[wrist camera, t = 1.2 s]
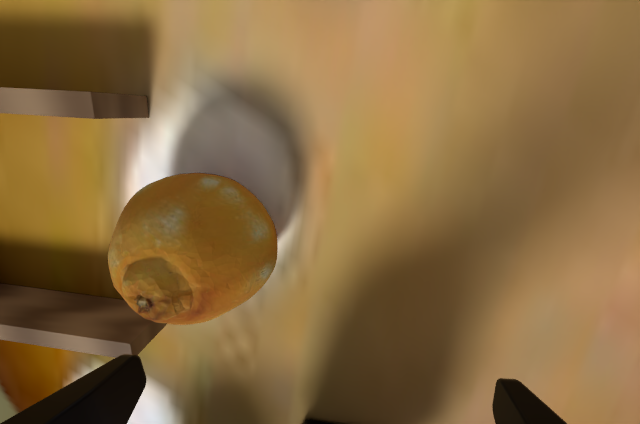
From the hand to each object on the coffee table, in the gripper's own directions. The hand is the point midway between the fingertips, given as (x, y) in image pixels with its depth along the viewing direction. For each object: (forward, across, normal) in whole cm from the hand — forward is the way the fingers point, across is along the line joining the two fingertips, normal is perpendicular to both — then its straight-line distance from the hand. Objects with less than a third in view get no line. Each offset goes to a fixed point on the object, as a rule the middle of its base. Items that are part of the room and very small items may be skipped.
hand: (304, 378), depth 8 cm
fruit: (+12, +8, +1) cm, 14 cm away
